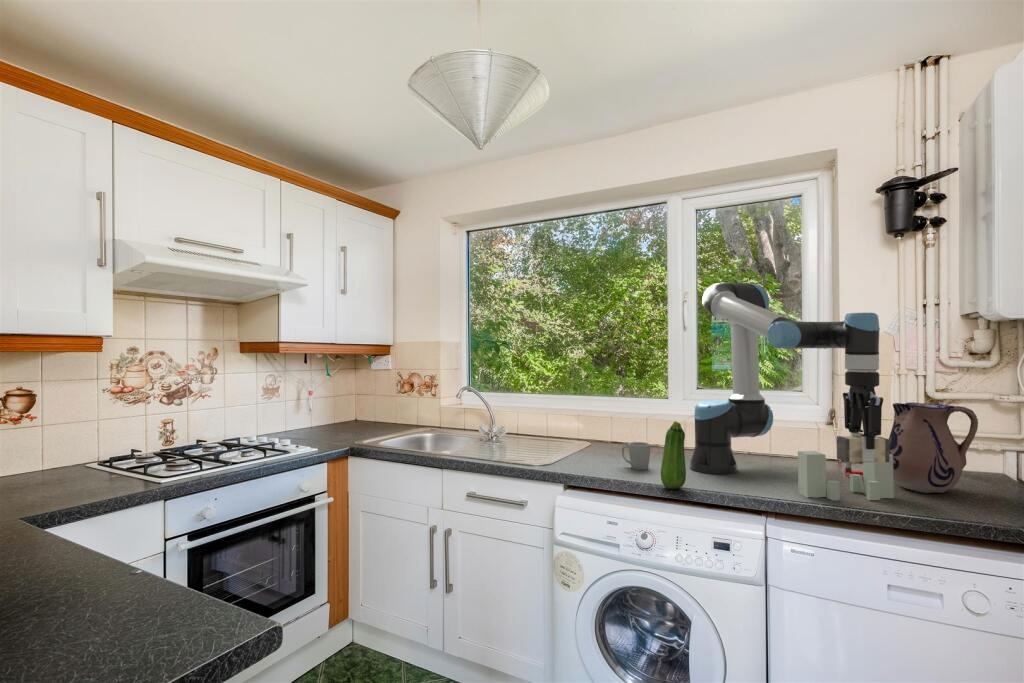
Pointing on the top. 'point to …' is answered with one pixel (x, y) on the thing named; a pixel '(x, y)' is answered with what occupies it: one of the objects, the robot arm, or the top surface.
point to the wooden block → (852, 449)
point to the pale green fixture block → (875, 480)
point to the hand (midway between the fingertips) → (862, 458)
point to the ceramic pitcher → (928, 446)
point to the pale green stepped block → (815, 476)
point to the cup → (638, 455)
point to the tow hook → (850, 470)
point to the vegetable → (674, 458)
